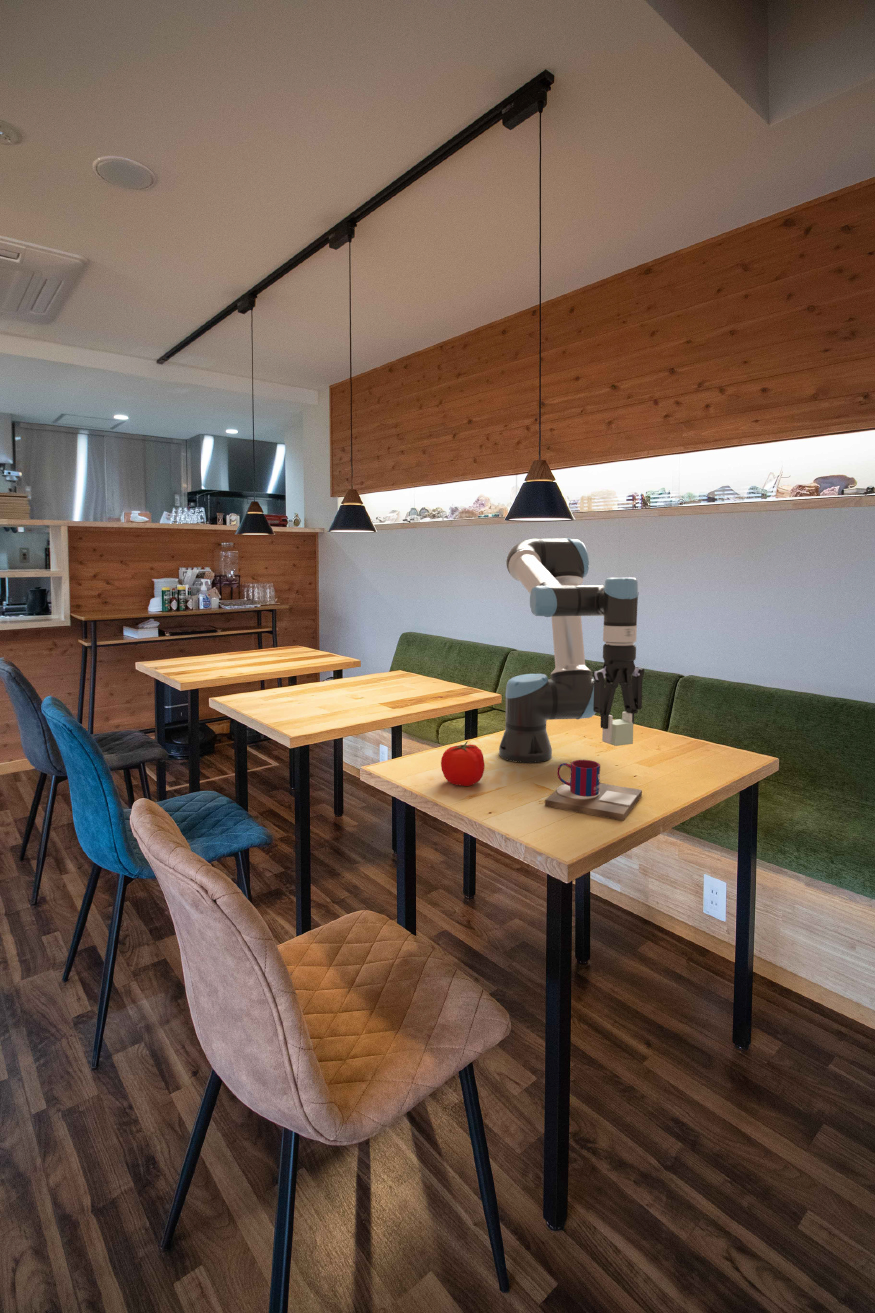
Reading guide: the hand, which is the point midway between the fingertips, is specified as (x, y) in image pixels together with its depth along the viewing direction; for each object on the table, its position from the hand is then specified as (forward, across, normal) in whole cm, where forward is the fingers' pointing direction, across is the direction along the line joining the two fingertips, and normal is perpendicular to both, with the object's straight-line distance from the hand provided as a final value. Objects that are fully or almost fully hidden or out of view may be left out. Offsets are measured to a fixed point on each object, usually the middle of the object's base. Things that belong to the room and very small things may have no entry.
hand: (616, 740), depth 161 cm
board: (+14, -7, -1) cm, 15 cm away
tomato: (+13, -30, +23) cm, 40 cm away
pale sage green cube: (+1, 0, 0) cm, 1 cm away
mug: (+12, -9, +2) cm, 15 cm away
